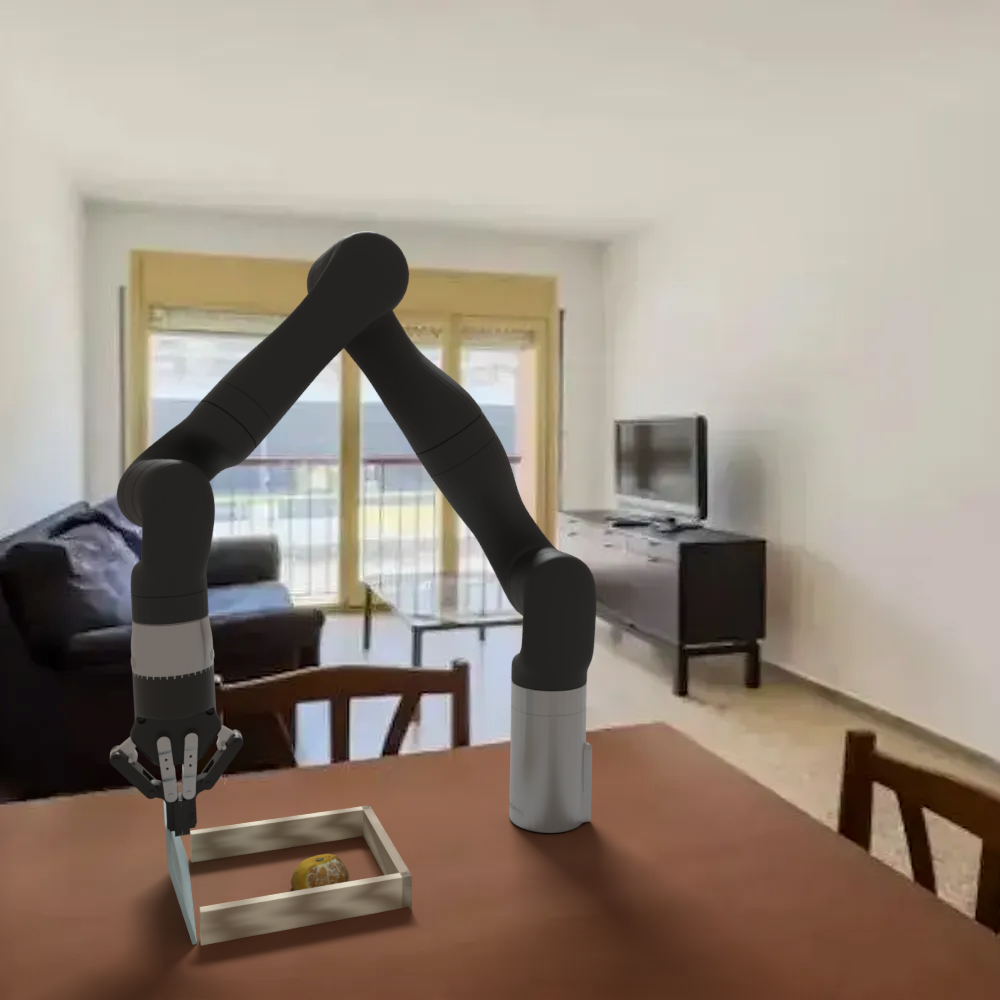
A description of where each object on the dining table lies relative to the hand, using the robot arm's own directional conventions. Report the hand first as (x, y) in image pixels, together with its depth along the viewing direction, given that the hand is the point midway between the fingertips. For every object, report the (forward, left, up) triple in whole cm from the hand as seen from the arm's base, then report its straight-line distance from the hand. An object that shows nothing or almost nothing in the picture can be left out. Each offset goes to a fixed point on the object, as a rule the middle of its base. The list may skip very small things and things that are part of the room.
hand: (182, 832), depth 91 cm
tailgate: (-1, 0, -7) cm, 7 cm away
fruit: (-14, +4, -8) cm, 16 cm away
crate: (-11, 0, -7) cm, 13 cm away
